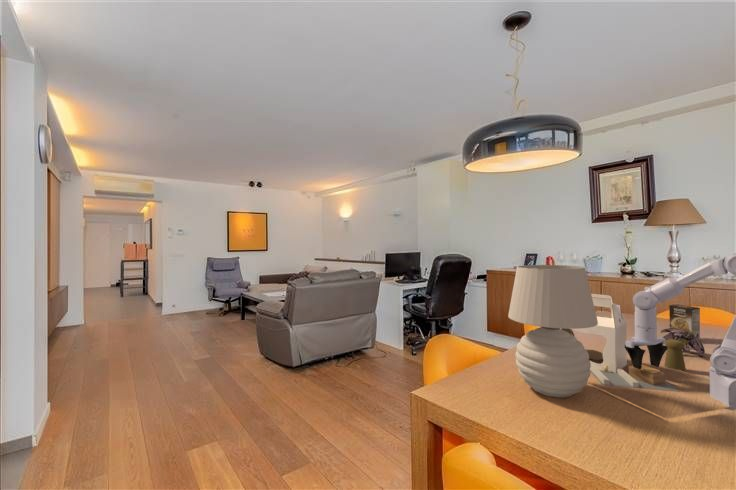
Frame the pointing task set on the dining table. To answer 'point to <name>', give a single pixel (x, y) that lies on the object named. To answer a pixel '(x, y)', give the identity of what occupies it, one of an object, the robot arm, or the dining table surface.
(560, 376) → the table lamp
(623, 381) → the board
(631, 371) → the wooden box
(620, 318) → the gable box
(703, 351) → the decorative flower
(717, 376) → the robot arm
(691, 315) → the food box
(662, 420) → the dining table surface
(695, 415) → the dining table surface
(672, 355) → the cork
